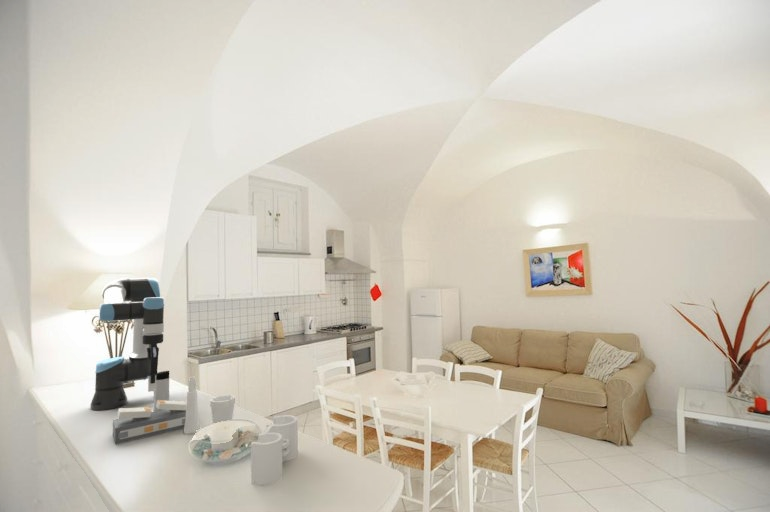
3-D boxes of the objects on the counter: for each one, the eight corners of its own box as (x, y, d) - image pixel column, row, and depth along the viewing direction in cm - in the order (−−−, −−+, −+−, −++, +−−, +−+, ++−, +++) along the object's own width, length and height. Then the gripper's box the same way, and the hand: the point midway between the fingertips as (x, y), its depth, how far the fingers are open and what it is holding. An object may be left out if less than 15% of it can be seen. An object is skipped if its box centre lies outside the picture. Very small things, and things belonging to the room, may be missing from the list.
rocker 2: (155, 405, 162) (157, 399, 163) (183, 407, 169) (185, 400, 169) (158, 409, 157) (160, 402, 158) (186, 410, 164) (188, 404, 165)
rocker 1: (117, 414, 153) (118, 407, 154) (148, 413, 160) (149, 406, 161) (118, 418, 149) (120, 411, 149) (150, 416, 156) (151, 410, 156)
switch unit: (112, 434, 155) (113, 416, 155) (185, 418, 172) (186, 402, 172) (115, 444, 145) (115, 425, 145) (192, 426, 162) (192, 409, 162)
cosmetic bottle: (203, 429, 158) (203, 376, 159) (189, 435, 153) (190, 379, 154) (193, 427, 161) (194, 374, 162) (180, 432, 156) (180, 378, 157)
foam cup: (210, 436, 151) (210, 403, 151) (209, 428, 159) (209, 397, 160) (236, 431, 155) (236, 399, 156) (233, 424, 163) (233, 393, 164)
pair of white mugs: (279, 485, 113) (279, 444, 114) (247, 485, 114) (247, 444, 115) (301, 448, 138) (300, 414, 139) (274, 448, 139) (274, 414, 140)
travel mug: (162, 417, 174) (163, 373, 175) (150, 416, 175) (150, 372, 177) (172, 412, 180) (173, 369, 181) (160, 411, 181) (161, 369, 183)
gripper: (140, 333, 163) (139, 389, 162) (144, 336, 153) (143, 396, 152) (160, 331, 168) (160, 385, 166) (165, 334, 158) (164, 392, 156)
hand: (152, 390), depth 159 cm, fingers closed
